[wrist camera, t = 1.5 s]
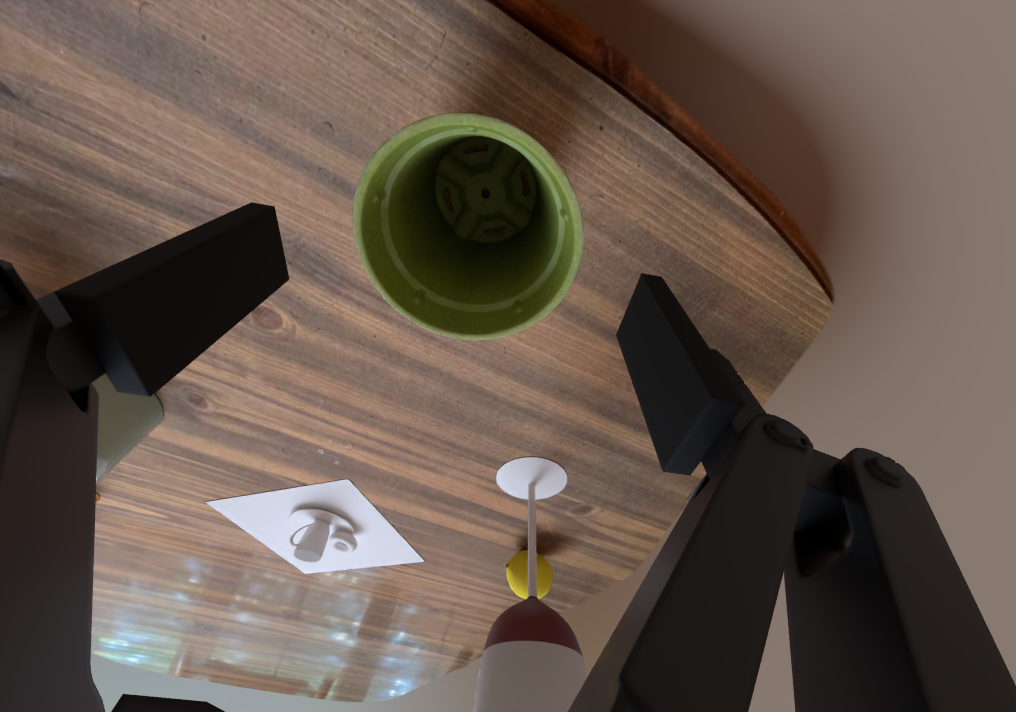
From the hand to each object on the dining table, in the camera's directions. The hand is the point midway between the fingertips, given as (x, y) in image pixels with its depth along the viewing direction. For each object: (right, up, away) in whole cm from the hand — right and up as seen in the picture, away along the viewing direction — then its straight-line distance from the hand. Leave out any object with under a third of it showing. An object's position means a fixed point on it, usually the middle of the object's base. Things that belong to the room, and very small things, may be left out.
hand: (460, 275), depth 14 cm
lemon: (+5, -29, +36) cm, 46 cm away
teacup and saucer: (-22, -26, +35) cm, 49 cm away
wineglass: (+4, -16, +26) cm, 31 cm away
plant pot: (0, +7, +9) cm, 11 cm away
